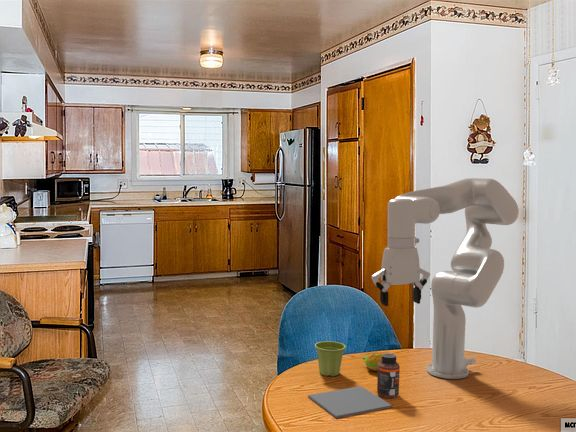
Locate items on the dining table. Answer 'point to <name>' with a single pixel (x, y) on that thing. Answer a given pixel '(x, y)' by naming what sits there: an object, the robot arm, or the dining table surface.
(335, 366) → the plant pot
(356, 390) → the mat
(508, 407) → the dining table surface
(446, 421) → the dining table surface
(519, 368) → the dining table surface
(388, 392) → the supplement bottle
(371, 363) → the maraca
